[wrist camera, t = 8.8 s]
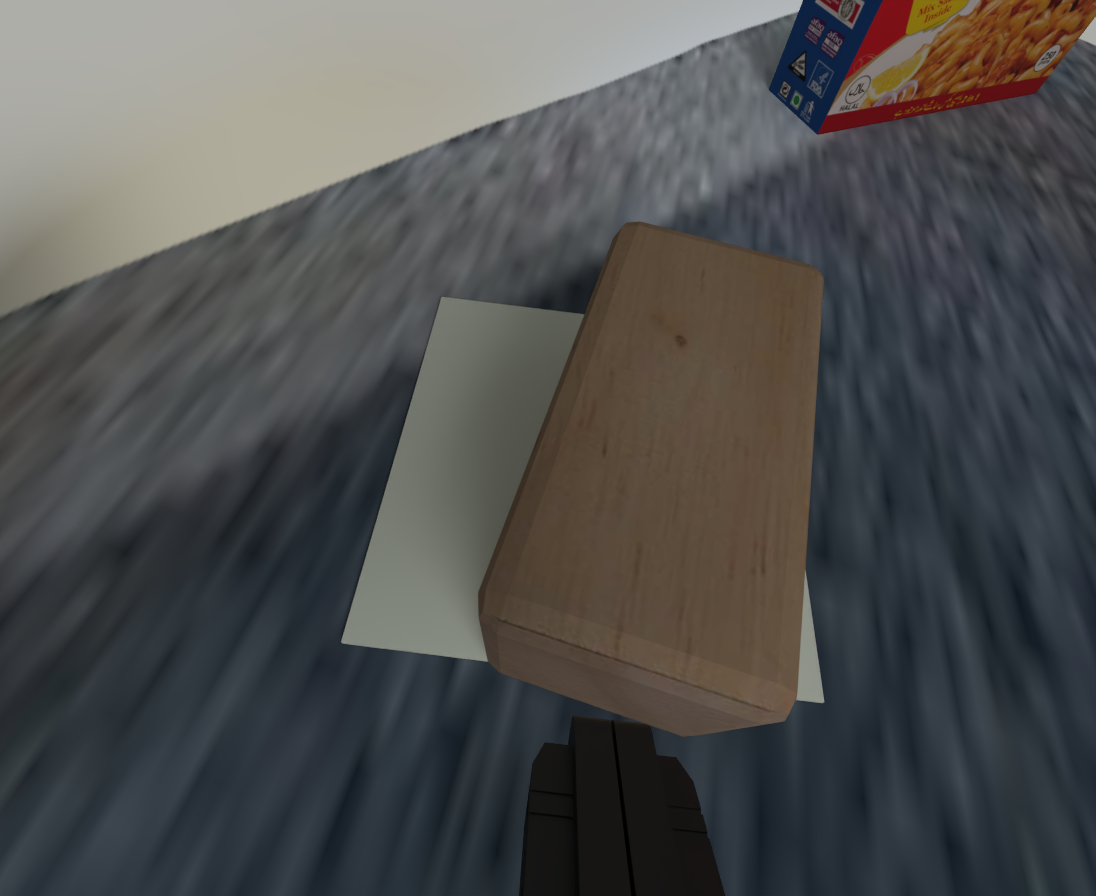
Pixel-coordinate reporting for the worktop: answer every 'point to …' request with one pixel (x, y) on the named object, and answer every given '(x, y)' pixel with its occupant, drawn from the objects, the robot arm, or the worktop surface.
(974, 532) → the worktop surface
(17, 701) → the worktop surface
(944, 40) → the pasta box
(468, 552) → the mat
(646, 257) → the wooden block
